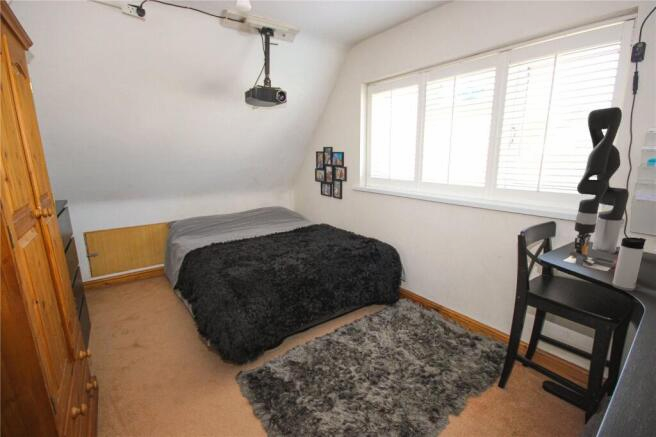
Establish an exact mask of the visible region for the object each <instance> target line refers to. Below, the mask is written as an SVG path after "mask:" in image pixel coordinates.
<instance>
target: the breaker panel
mask: <svg viewBox="0 0 656 437" xmlns="http://www.w3.org/2000/svg"><path fill="white" fill-rule="evenodd" d="M587 258H588V259H590V260H591V259H593V258H594V257H589V256H588V257H587ZM562 261H563V262H567V263H571V264H575V265H577V264H576V258H575V257H573V256H571V255H570V256H568V257H567V258H565V259H563V260H562ZM597 261H599V260H597ZM601 262H603V261H601ZM606 263H608V262H606ZM610 264H611V263H610ZM578 265H579V266H581V265H580V264H578ZM582 266H583V267H586V268H587V267H588V268H591V269H596V270H600V271H603V272H604V271H605V272H608V271H609V270H611V268H610V267H606V266H602V265H597V264H593V265H591V266H590V265H588V264H586V263H584V262H583V265H582Z"/></svg>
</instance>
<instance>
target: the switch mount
mask: <svg viewBox="0 0 656 437" xmlns="http://www.w3.org/2000/svg"><path fill="white" fill-rule="evenodd" d="M581 255H582V256H584V257H586V258H587V257H589V256H588V254H587V255H586V254H581ZM584 257H579V256H577V258H576V264H575V265H579V264H580V265H579V266H583V259H584Z"/></svg>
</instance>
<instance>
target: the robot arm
mask: <svg viewBox="0 0 656 437" xmlns="http://www.w3.org/2000/svg"><path fill="white" fill-rule="evenodd" d="M622 114H623V112H622V109H621V108H620V107H617V106H615V107H613V106H612V107H608V108H598V109H594V110H591V111H589V113H588V115H587V126H588V127H587V128H588V131H589V135H590V139H591V143H592V150H591V152H590V153H589V154H588V157H587V161H586V166H585V169H584V170H585V171H584V173H583V175H582V177H581V179H580V180H579V181H578V184H577V188H576V190H577V193H579V194H581V195H587V196H588V195H589V196H594V197H593V198H587V199H581V200H580V201H579V205H578V210H577V213H576V219H575V222H574V223H575V224H574V231H575V232H578V234H577V235H576V237H575V238H574V249H576V252H577V253H579V254H580V255H581V254H582V250H583V246H585V245H588V246H589V242H590V239H591V236H592V234H594V237H593V243H592V247H591V248H592V250H595V251H600V252H605V253H609V254H615V253H616V251H617V250H616V249H617V246H618V242H619V238H620V236H619V235H620V231H621V226H622V221H623V218H624V215H625V211H626V208H627V204H628V201H629V196H630V193H629V190H628V189H627V188H622V187H611V186H610V180H611V178H612V177H613V175H614V174H615V173H616V172H617V171H618V170H619V168H620V166H621V155H620V151H619V149H618V148H617V147H616V145H614V141H615V139H616V136H617V134H618V131H619V128H620V126H621V124H622V123H621V122H622V117H623V115H622ZM603 130H606V132H605V134H604V132H603ZM594 176H596V179H591V177H594ZM600 204H601V205H603V206H604V205H605V206H610V207H611V206H612V209H610V210H606V211H600V212H599V213H598V211H599V207H600ZM578 245H579V246H580V247H578Z"/></svg>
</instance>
